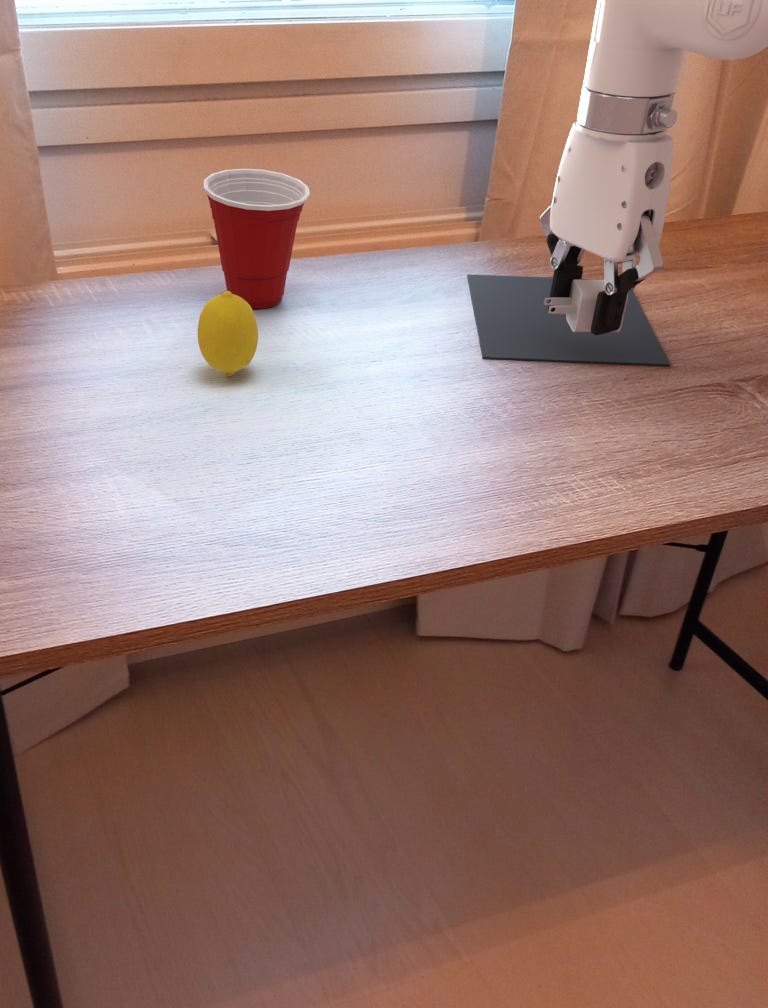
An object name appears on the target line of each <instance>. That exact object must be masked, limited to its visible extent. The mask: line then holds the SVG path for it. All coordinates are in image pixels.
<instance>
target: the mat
mask: <svg viewBox="0 0 768 1008" xmlns="http://www.w3.org/2000/svg"><path fill="white" fill-rule="evenodd" d="M466 277H468V278H467V283H468V288H469V293H470V298H471V299H470V300H471V304H472V310H473V313H474V320H475V325H476V330H477V336H478V341H479V346H480V352H481V357H482V360H500V361H501V360H504V361H525V362H526V361H527V362H552V363H553V362H555V363H575V364H576V363H579V364H580V363H581V364H601V365H602V364H606V365H629V366H630V365H631V366H656V367H671V363H670V360H669V358H668V357H667V354H666V353H665V351H664V349H663V347H662V345H661V343H660V341H659V339H658V337H657V335H656V333H655V331H654V330H653V327H652V325H651V324H650V322H649V320H648V318H647V316H646V314H645V312H644V309H643V308H642V306H641V304H640V302H639V300H638V298H637V296H636V294H635V292H634V291H633V290H634V289H633V290H629V291H628V301H627V305H626V310H625V314H624V319H623V323H622V327H621V330H620V332H608V333H605V334H601V335H597V336H596V335H594V334H592V333H591V332H573V331H572V329H571V327H570V325H569V323H568V322H567V319H566V314H551V313H548V312H549V311H548V305H544V301H545V298H549V297H550V292H551V286H552V280H553V276H551V277H550V276H549V277H548V276H526V275H525V276H524V275H523V276H522V275H521V276H520V275H498V274H497V275H495V274H469V273H468V274H467V275H466ZM581 280H604V278H582V279H581ZM546 303H547V304H548V303H549V299H548V300H547V301H546Z"/></svg>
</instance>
